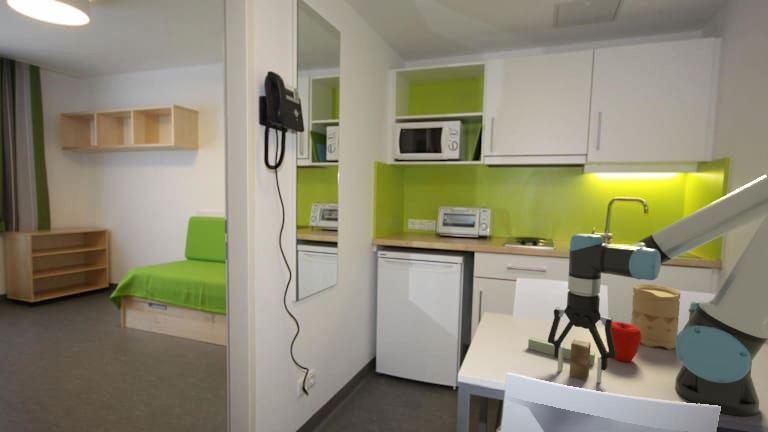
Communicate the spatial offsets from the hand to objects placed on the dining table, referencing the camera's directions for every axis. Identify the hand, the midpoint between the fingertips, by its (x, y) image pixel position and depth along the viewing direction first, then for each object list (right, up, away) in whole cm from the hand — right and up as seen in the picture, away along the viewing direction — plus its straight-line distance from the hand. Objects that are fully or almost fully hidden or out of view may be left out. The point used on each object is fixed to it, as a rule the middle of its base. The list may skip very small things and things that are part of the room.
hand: (579, 375), depth 100 cm
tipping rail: (+1, +1, +13) cm, 13 cm away
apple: (+18, 0, +11) cm, 22 cm away
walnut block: (0, 0, 0) cm, 0 cm away
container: (+37, 0, +24) cm, 45 cm away
